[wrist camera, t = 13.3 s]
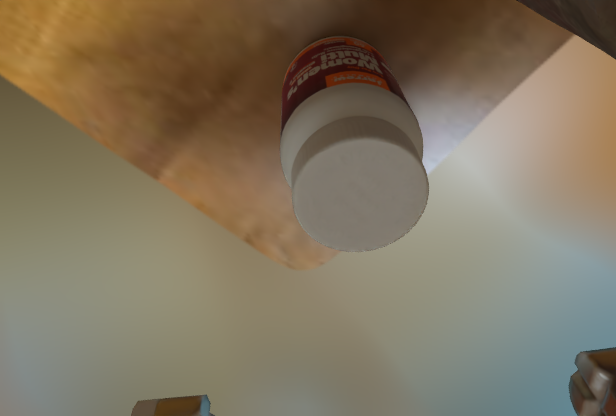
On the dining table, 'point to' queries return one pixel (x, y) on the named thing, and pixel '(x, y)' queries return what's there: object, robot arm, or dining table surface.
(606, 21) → the candle
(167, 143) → the dining table surface
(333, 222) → the pill bottle
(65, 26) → the dining table surface
